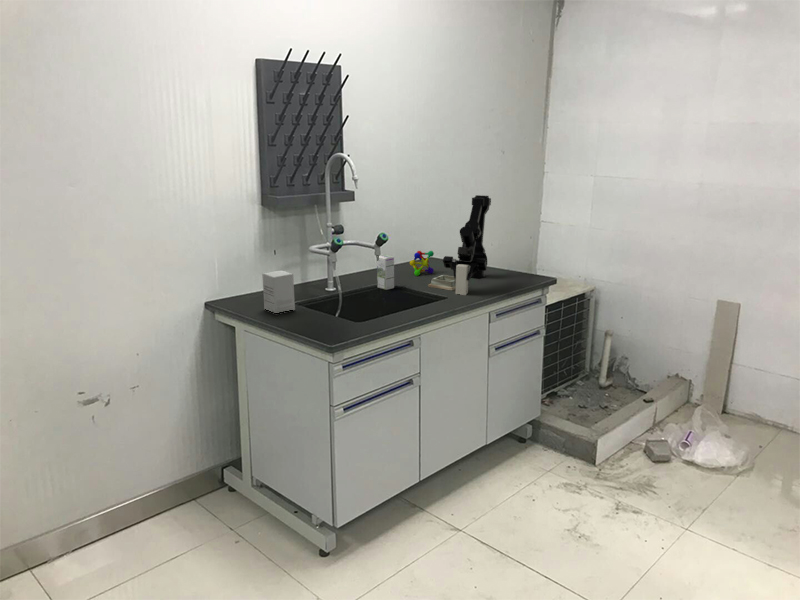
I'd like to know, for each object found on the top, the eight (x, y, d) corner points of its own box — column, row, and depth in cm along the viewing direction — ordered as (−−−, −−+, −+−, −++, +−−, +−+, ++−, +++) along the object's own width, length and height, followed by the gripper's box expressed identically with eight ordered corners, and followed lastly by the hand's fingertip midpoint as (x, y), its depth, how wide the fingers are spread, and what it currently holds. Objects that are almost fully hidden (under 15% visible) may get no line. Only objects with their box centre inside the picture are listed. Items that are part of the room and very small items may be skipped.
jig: (441, 281, 297) (441, 274, 296) (465, 284, 290) (465, 277, 289) (428, 286, 287) (428, 279, 286) (452, 290, 280) (452, 282, 279)
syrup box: (394, 288, 284) (394, 256, 280) (385, 290, 280) (385, 258, 276) (385, 285, 288) (385, 254, 284) (376, 287, 284) (376, 256, 280)
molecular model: (416, 276, 306) (417, 253, 303) (408, 274, 311) (408, 250, 308) (435, 274, 312) (436, 251, 309) (426, 271, 318) (427, 248, 315)
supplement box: (283, 305, 255) (281, 269, 251) (295, 310, 248) (294, 273, 244) (263, 309, 249) (261, 272, 245) (275, 314, 242) (273, 276, 239)
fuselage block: (457, 291, 278) (458, 264, 275) (467, 292, 277) (468, 264, 273) (455, 294, 274) (456, 266, 271) (465, 295, 272) (466, 266, 269)
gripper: (444, 238, 275) (437, 267, 268) (486, 240, 270) (480, 271, 263) (448, 252, 285) (441, 281, 278) (489, 255, 279) (483, 285, 272)
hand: (461, 279), depth 272 cm, fingers open, 5 cm apart
